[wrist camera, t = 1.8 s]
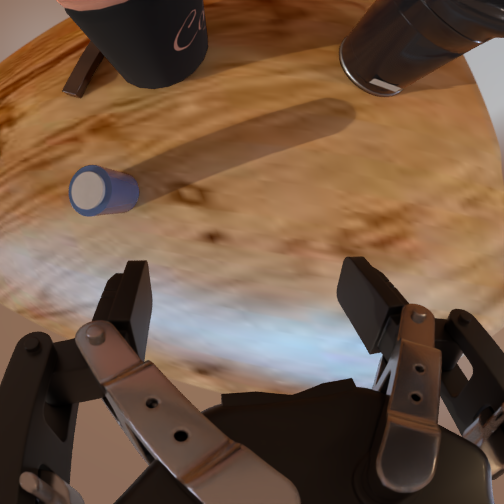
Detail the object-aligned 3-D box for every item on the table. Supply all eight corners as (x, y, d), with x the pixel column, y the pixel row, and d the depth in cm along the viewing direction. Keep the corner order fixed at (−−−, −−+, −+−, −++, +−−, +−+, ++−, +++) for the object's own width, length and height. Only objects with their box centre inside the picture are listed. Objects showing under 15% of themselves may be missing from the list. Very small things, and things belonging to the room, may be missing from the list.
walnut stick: (110, 22, 27) (106, 17, 25) (124, 24, 27) (121, 19, 26) (67, 94, 28) (61, 91, 27) (80, 98, 28) (75, 94, 27)
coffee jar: (203, 93, 30) (179, -8, 12) (112, 95, 29) (28, 22, 11) (214, 18, 28) (207, -90, 10) (129, 22, 27) (79, -68, 9)
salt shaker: (111, 167, 30) (76, 157, 22) (145, 181, 31) (117, 174, 22) (97, 204, 31) (59, 205, 22) (130, 219, 31) (98, 224, 23)
